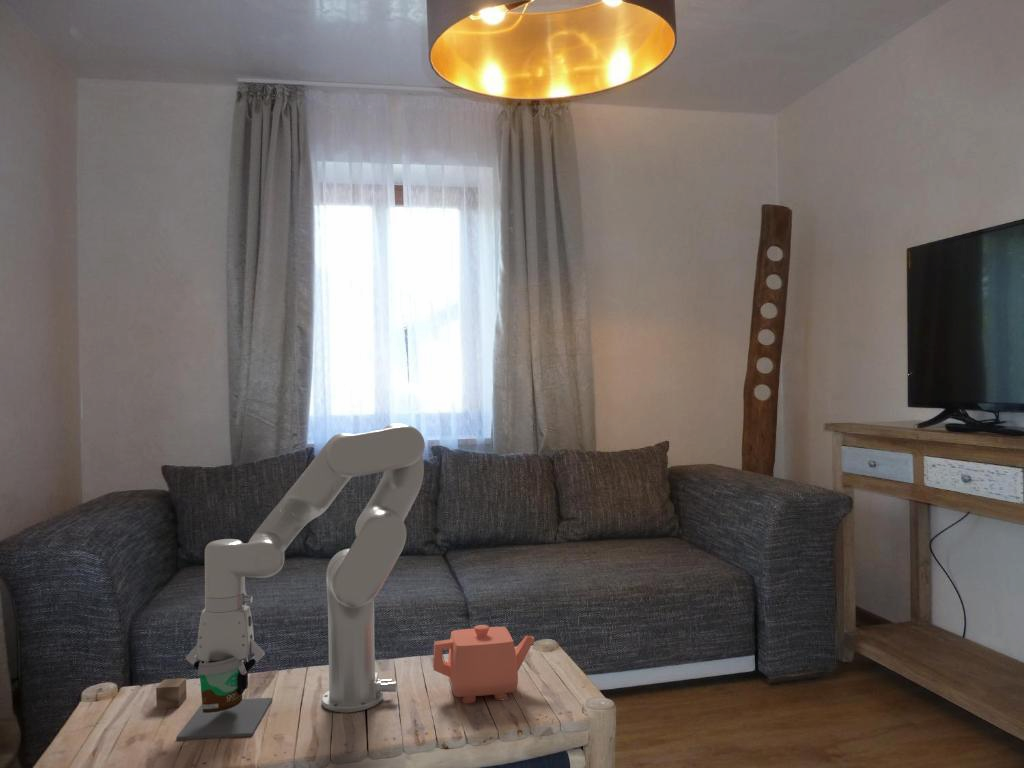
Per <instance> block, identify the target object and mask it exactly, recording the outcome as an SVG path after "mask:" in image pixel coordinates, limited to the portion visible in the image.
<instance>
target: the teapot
mask: <svg viewBox="0 0 1024 768" xmlns="http://www.w3.org/2000/svg"><path fill="white" fill-rule="evenodd" d="M534 641H535V638H534V636H533V635H525V637H523V639H522V640H521V641H520V642H519V643H518V645H517V646H516V647H515V642H514V639H513V638H512V635H511V633H510V632H509V630H508V629H507V627H506V626H489V625H487V624H479V625H475V626H474V627H473V628H465V629H464V628H463V629H455V630H452V631H451V634H450V638H449V639H443V640H436V641H433V642H434V643H433V663H432V664H433V665H432V667H433V671H435V672H437V673H440V674H442V675H444V676H446V677H449V681H450V685H451V689H452V692H453V695H454V696H455V697H457V698H462V699H461V702H462V703H464V704H473V703H475V702H476V698H477V697H480V696H481V697H482V696H494V699H495V700H497V699H498V701H502V700H501V699H505V700H507V699H508V698H509V696H508V693H513V692H517V689H518V686H519V683H518V682H519V671H520V668H521V667H522V664H523V663H524V662H525V659H526V657H527V655H528V653H529V651H530V649H531V647H532V646H533V643H534ZM443 650H448V661H445V660H444V657H443ZM507 697H508V698H507ZM506 698H507V699H506Z"/></svg>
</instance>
